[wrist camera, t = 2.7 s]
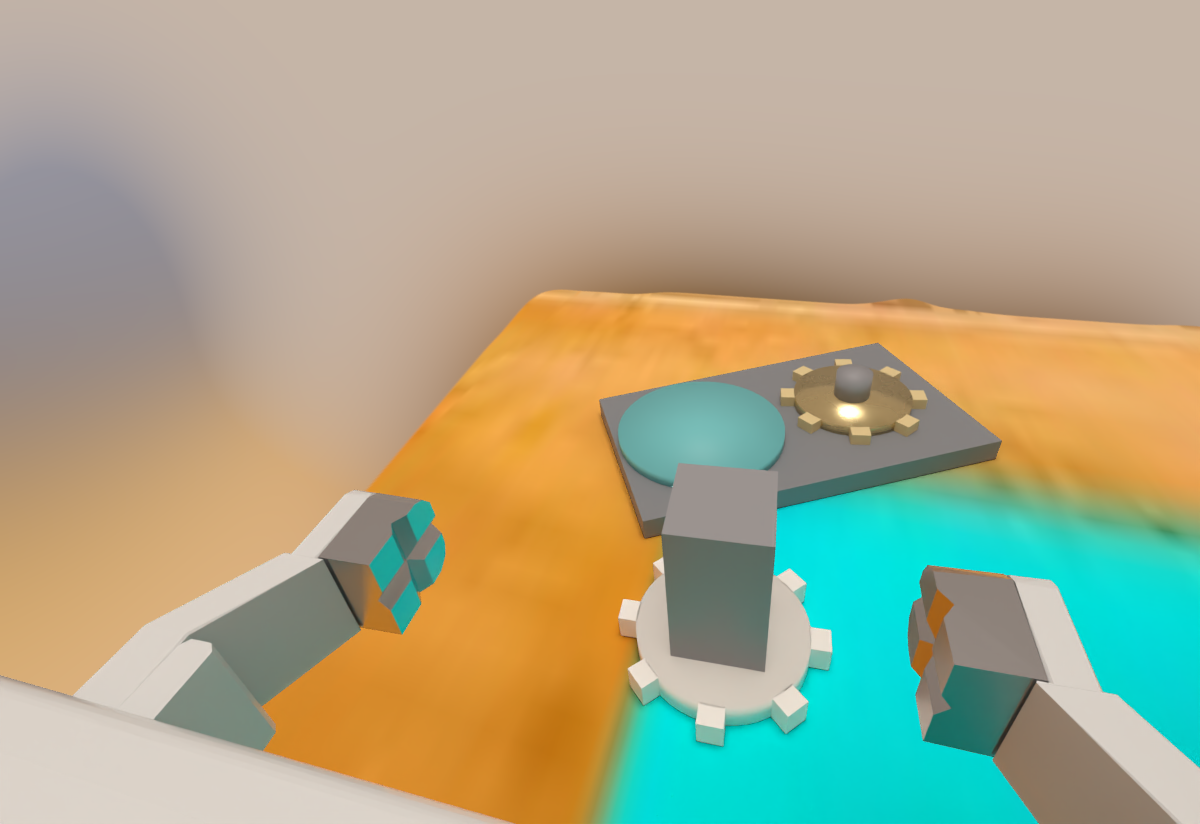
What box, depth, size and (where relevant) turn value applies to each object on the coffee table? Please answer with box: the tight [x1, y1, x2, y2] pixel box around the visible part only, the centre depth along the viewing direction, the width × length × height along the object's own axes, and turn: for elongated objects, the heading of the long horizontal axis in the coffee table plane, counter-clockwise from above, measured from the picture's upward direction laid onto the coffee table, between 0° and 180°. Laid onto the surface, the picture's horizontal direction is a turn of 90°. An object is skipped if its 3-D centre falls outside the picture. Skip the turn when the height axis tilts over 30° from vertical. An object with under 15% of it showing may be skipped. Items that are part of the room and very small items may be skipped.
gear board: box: [599, 343, 1002, 538], centre depth 43 cm, size 24×14×4 cm, turn 101°
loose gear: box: [618, 463, 832, 746], centre depth 28 cm, size 10×10×10 cm
